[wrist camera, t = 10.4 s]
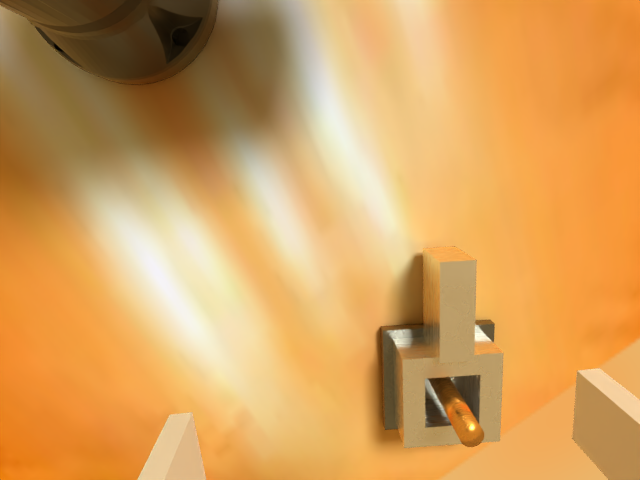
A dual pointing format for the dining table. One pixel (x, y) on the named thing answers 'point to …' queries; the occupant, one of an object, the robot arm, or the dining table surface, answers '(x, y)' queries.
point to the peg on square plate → (432, 385)
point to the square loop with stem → (447, 355)
